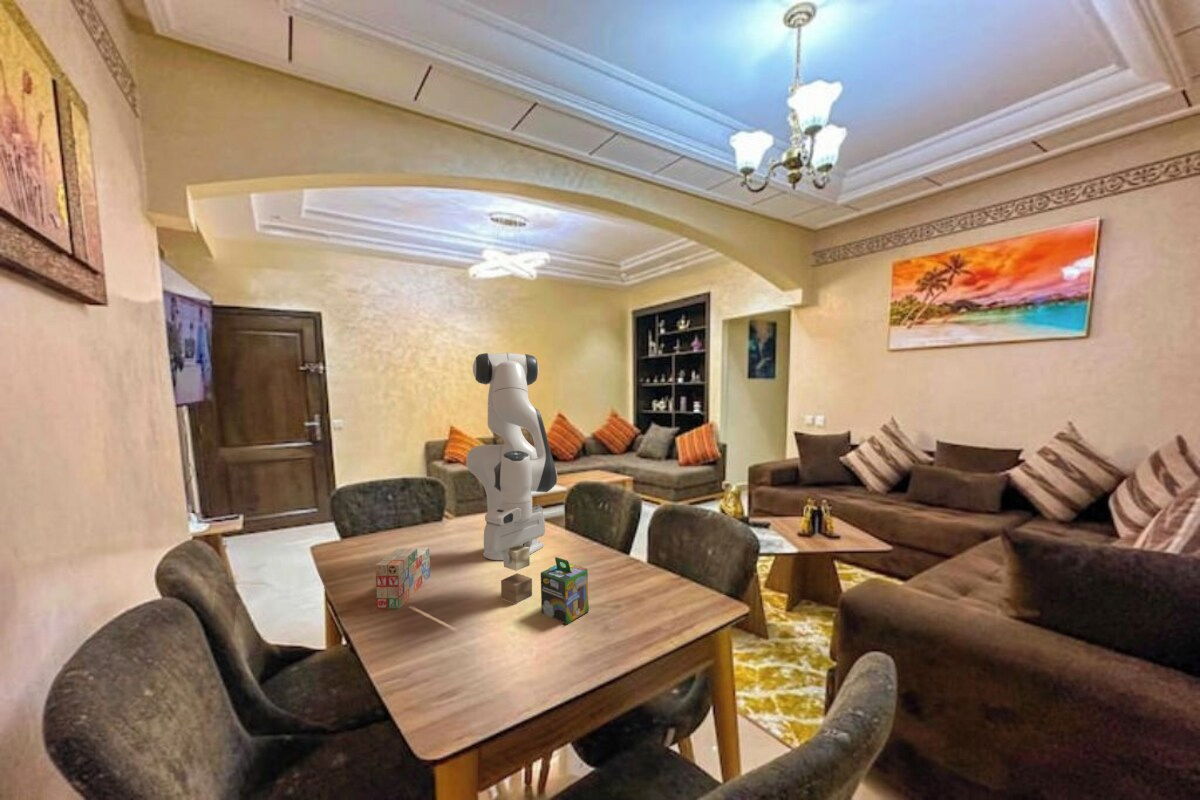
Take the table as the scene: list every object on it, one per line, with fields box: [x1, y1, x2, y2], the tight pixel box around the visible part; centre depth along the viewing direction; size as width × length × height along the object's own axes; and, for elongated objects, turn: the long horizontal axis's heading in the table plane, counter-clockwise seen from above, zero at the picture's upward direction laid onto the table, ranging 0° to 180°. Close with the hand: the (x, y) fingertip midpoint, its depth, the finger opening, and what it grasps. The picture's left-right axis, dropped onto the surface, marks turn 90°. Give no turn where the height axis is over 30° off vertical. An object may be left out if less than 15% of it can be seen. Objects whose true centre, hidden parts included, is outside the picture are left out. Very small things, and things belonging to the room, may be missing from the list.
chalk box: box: [540, 556, 590, 626], centre depth 119 cm, size 9×9×15 cm
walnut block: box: [500, 572, 533, 605], centre depth 127 cm, size 6×6×5 cm
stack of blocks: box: [375, 547, 431, 610], centre depth 132 cm, size 21×6×12 cm, turn 179°
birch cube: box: [503, 545, 531, 572], centre depth 127 cm, size 5×5×5 cm
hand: (516, 559), depth 127 cm, fingers closed on birch cube, 5 cm apart
